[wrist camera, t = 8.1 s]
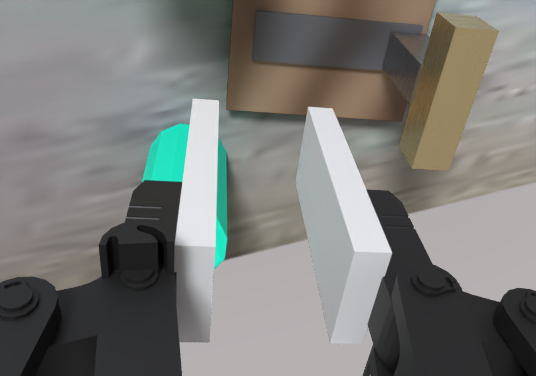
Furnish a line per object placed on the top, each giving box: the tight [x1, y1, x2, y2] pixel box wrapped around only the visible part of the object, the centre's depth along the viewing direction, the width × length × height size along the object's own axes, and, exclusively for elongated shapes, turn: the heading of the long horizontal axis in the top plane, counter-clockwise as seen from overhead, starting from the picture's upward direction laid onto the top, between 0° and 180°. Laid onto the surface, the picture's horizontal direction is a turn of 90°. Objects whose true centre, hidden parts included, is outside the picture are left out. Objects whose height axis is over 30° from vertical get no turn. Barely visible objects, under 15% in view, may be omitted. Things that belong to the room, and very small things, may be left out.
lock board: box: [226, 0, 435, 121], centre depth 34 cm, size 13×11×2 cm
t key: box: [382, 13, 499, 171], centre depth 30 cm, size 2×8×9 cm, turn 174°
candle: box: [142, 124, 227, 269], centre depth 34 cm, size 6×6×12 cm
